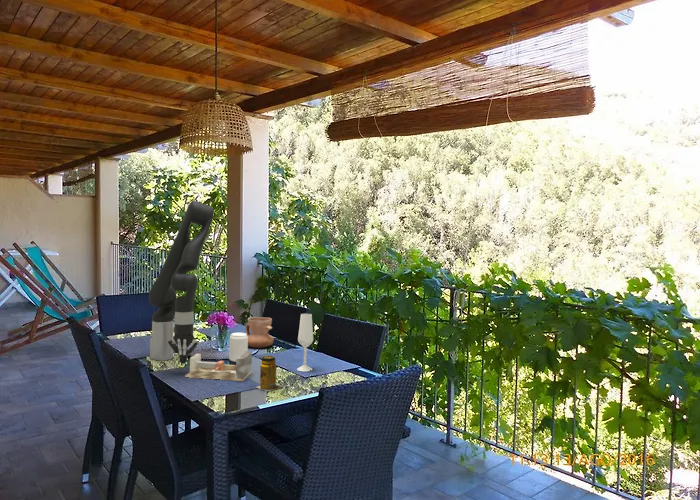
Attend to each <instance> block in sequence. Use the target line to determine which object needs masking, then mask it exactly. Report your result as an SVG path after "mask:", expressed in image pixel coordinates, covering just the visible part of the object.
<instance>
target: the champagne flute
mask: <svg viewBox="0 0 700 500" xmlns="http://www.w3.org/2000/svg"><path fill="white" fill-rule="evenodd" d="M299 319H300V320H299V329H298V336H297V341H298V343H299V344H300V345H301V347H303V364H302V365H301V366H299V367H297V368H296V370H297V371H298V372H299V371H300V372H311V371H313V368H312V367H310V366H308V364H307V351H308V350H307V349H308V347H310V346H311V344H312V343H313V341H314V332H313V331H314V329H313V315H312V313H300V318H299ZM310 370H311V371H310Z"/></svg>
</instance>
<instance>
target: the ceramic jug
mask: <svg viewBox="0 0 700 500" xmlns="http://www.w3.org/2000/svg"><path fill="white" fill-rule="evenodd" d="M272 323H273V319H272V318H271V317H264V316H263V317H262V316H251V317H248V318H247V323H246V325H245V333H246V334H247V336H248V347H250V348H255V349H264V348H268V347H270V346H271V345H273V344H274V342H275V341H274V340H275V339H274V337H273V336H272V335H270V333H269V331H270V330H272V329H273V327H272Z"/></svg>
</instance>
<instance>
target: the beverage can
mask: <svg viewBox="0 0 700 500" xmlns="http://www.w3.org/2000/svg"><path fill="white" fill-rule="evenodd" d="M228 347H229V351H228V352H229V355H228V360H229V361H231V362H234V363H236V359H237V358H238V357H239V356H240V355H241V354H242V353H243V352H245V351H248V348H249V346H248V336H247V333H246V332H233V333H231V334H230V336H229V346H228ZM248 352H249V351H248Z"/></svg>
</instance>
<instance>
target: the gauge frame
mask: <svg viewBox="0 0 700 500" xmlns="http://www.w3.org/2000/svg"><path fill="white" fill-rule="evenodd" d="M252 357H253V351H245V352H243V353H242V354H241V355H240V356H239V357H238V358H237V359H236V362H235V364H236V365H235V364H224V369H222V370H221V371H215V368H200V369H199V370H190V369H189V371H188V372H187V373H186V374H184V378H185V377H189V378H188V379H198V378H203V379H202V380H214V379H220V380H219V381H230V380H231V381H232V382H244V381H245V380H246V379H247V378H248V377H249V376H250V375H251V374H252V363H253V362H252V360H253V359H252Z"/></svg>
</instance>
